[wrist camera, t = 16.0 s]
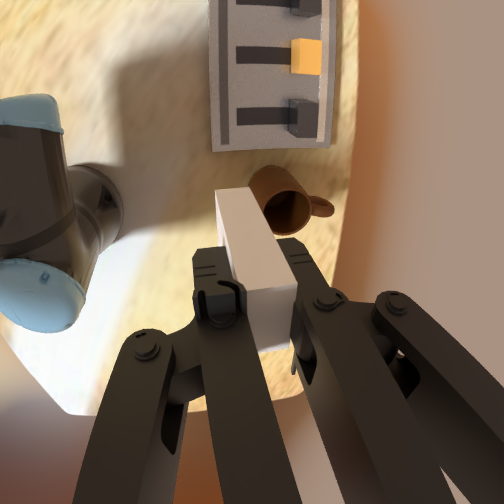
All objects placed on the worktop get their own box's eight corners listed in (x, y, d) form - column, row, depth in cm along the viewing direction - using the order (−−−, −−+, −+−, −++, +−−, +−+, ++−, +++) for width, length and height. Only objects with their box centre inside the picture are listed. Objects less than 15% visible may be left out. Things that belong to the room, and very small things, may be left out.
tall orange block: (290, 72, 37) (299, 73, 34) (291, 40, 34) (300, 38, 31) (310, 74, 37) (320, 75, 34) (311, 42, 34) (321, 40, 31)
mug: (320, 169, 49) (346, 191, 41) (311, 210, 53) (333, 238, 45) (250, 162, 46) (264, 185, 38) (244, 206, 50) (256, 236, 42)
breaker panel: (211, 148, 43) (215, 159, 38) (208, -29, 27) (212, -42, 23) (324, 144, 46) (340, 154, 41) (330, -18, 30) (348, -26, 26)
